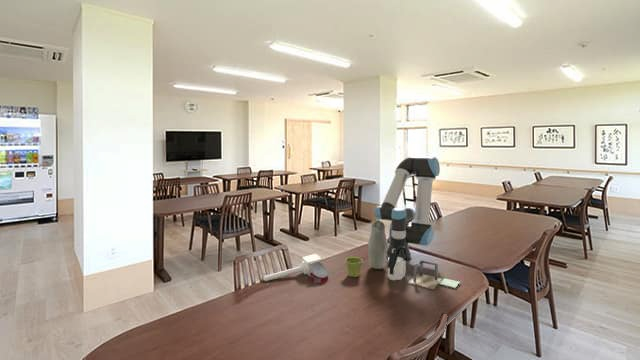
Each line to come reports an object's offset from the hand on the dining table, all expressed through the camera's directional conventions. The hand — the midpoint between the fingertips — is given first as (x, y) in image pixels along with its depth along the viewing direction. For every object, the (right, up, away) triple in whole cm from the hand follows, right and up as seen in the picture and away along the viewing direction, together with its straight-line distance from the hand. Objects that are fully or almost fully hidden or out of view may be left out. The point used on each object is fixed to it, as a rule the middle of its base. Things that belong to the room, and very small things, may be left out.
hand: (397, 275), depth 182 cm
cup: (0, -2, 0) cm, 2 cm away
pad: (+25, -2, -9) cm, 26 cm away
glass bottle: (-9, 0, +14) cm, 17 cm away
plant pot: (-23, -1, +4) cm, 24 cm away
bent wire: (+13, -1, -6) cm, 14 cm away
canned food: (-43, -2, -1) cm, 43 cm away
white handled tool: (-57, -2, +4) cm, 57 cm away
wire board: (+13, -2, -6) cm, 14 cm away
